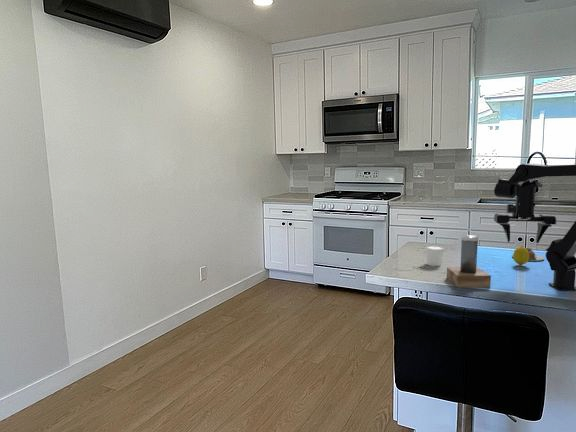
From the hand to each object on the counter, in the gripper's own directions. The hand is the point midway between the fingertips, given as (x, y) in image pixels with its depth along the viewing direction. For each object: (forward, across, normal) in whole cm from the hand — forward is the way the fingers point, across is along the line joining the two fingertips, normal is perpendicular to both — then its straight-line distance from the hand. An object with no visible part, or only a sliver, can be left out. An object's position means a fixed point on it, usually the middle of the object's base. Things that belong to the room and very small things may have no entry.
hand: (522, 242), depth 151 cm
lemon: (+13, -4, -17) cm, 22 cm away
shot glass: (+13, +29, -14) cm, 35 cm away
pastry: (+14, -10, -31) cm, 35 cm away
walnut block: (+13, +19, +10) cm, 25 cm away
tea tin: (+9, +19, +10) cm, 23 cm away
